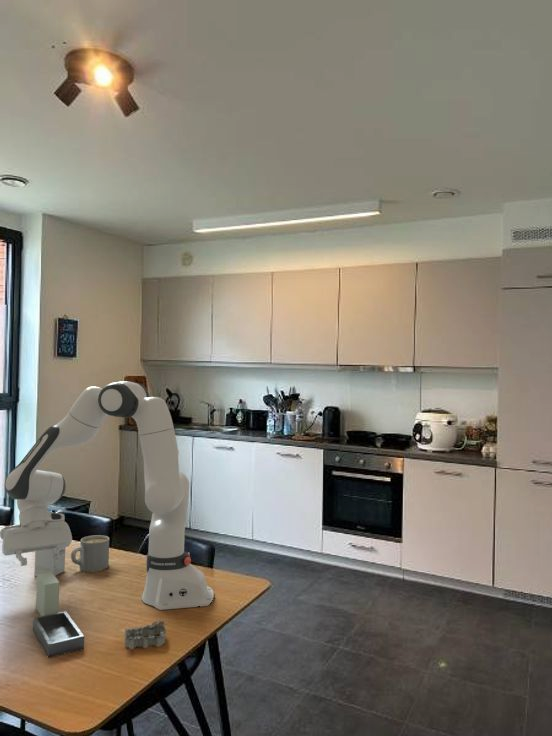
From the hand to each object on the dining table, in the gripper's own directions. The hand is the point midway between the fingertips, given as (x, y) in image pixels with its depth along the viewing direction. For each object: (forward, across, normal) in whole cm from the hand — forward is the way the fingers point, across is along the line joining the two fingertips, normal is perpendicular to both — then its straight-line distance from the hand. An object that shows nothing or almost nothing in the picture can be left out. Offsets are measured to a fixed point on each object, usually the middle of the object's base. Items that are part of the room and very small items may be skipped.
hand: (40, 562), depth 171 cm
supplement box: (-7, +8, +24) cm, 26 cm away
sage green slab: (+15, 0, +1) cm, 16 cm away
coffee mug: (-7, +21, +23) cm, 32 cm away
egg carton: (+38, +17, -21) cm, 47 cm away
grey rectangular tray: (+29, -2, -12) cm, 31 cm away
